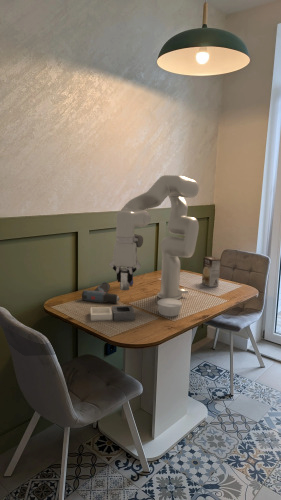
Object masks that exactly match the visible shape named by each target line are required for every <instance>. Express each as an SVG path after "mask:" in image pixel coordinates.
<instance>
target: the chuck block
mask: <svg viewBox="0 0 281 500" xmlns="http://www.w3.org/2000/svg"><path fill="white" fill-rule="evenodd" d="M111 310H112V321H114V322H118V321H119V322H121V321H124V322H126V321H135V319H136V316H135V315H136V312H135V309H134V308H133V305H112V306H111Z"/></svg>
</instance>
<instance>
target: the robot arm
mask: <svg viewBox="0 0 281 500" xmlns="http://www.w3.org/2000/svg"><path fill="white" fill-rule="evenodd" d="M199 190H200V188H199V184H198V182H197V181H196V180H194V179H192V178H189V177H186V176H184V175H183V176H182V175H176V174H175V175H171V174H169V175H168V174H167V175H161V176H160V177H159V178H158V179H157V180H156V181H155V182H154V183H153V184H152V186H150V187H149V189H147V191H146V192H144V193H141V194H139V195H138V196H135V197H133V198H132V199H130V200H129V201H127V203H125V204H124V206H123V207H122V208H121V209H120V210H118V211H117V212H116V223H115V225H116V234H115V235H116V236H115V237H116V238H115V239H116V242H114V246H113V250H112V251H113V252H112V254H113V255H112V259H111V261H110V262H109V264H108V266H109V267H110V268H111V269H112V270H114V272H115V273H116V281H117V283H120V268H127V267H129V275H128V283H131V281H132V280H133V281H134V273H135V272H136V271H138V270H139V269H141V268H142V266H141V264H140V262H139V261H138V247H137V246H136V243H134V242H136V241H138V238H135V236H134V234H135V228H144V227H147V226H148V225H149V224H150V222H151V215H150V213H149V211H147V210H149V209H155V208H157V207H159V206H161V204H163V202H164V201H165V200H166V198H167V197H168V198H169V202H170V206H171V207H170V212H169V217H168V222H167V231H168V232H169V233H170V234H173V235H178V236H184V237H178V236H170V235H169V236H165V237H163V238H162V240H161V242H160V251H161V252H160V253H161V274H160V275H161V276H160V277H161V278H160V291H159V292H157V295H156V296H157V297H158V299H164V298H170V299H176V300H180V299H182V295H183V294H185V295H186V294H187V295H188V294H189V290H188V289H185V288H182V289H181V288H180V283H181V282H180V280H181V279H180V278H181V277H180V276H181V260H180V258H185V259H186V258H187V259H189V258H191V257H193V255H194V254H195V250H196V245H197V240H198V235H199V229H200V224H199V221H198V219H197V218H196V217H192V216H187V215H188V208H189V206H188V203H187V200H186V199H185V198H189V199H193V198H195V197H196V196H197V195H198V194H199ZM179 257H180V258H179ZM133 267H134V269H133Z"/></svg>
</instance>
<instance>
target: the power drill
mask: <svg viewBox="0 0 281 500" xmlns="http://www.w3.org/2000/svg"><path fill="white" fill-rule="evenodd" d="M110 286H111V285H110V284H109V283H108V282H105V281H104V282H102V283H101V284H99V285H98V286H97V287H96V288H95V290H89V289H88V290H85V289H84V290H83V291H81V292H82V293H81V299H82V301H89V302H96V303H105V302H106V303H107V304H108V303H112V304H116V303H118V302H120V300H121V298H120V297H119V295H118V294H117V293H109V290H110V288H111V287H110Z"/></svg>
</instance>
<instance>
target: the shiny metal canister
mask: <svg viewBox="0 0 281 500" xmlns="http://www.w3.org/2000/svg"><path fill="white" fill-rule="evenodd" d="M128 275H129V268H127V267H121V268H120V282H119V290H120V291H129V290H130V286H129V283H128Z"/></svg>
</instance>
